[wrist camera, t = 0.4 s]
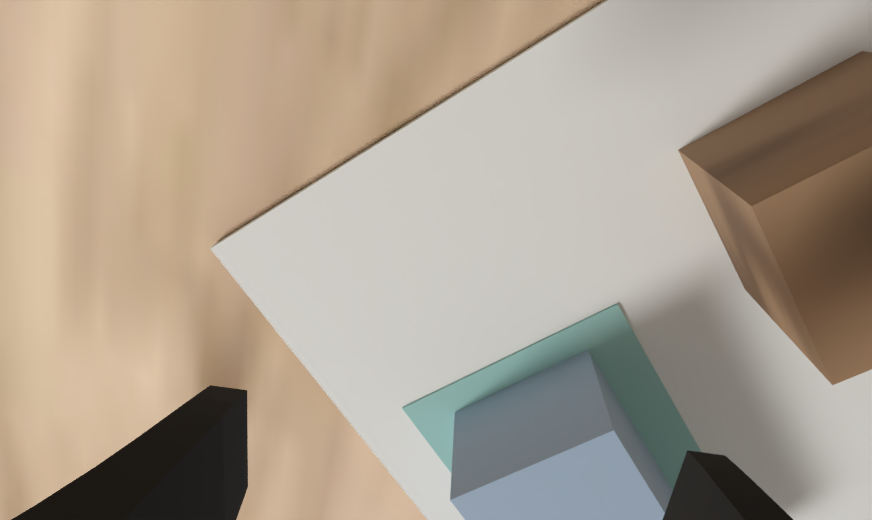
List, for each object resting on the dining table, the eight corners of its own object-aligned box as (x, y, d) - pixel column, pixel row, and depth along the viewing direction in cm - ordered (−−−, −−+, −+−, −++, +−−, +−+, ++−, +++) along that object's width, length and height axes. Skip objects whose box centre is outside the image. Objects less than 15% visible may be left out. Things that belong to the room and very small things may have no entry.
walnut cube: (917, 209, 17) (1076, 285, 13) (744, 289, 19) (832, 385, 14) (861, 51, 16) (1018, 73, 11) (678, 150, 17) (751, 206, 12)
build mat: (1072, 519, 22) (1085, 531, 21) (564, 682, 27) (565, 694, 26) (857, -158, 14) (869, -163, 14) (215, 244, 20) (208, 249, 19)
